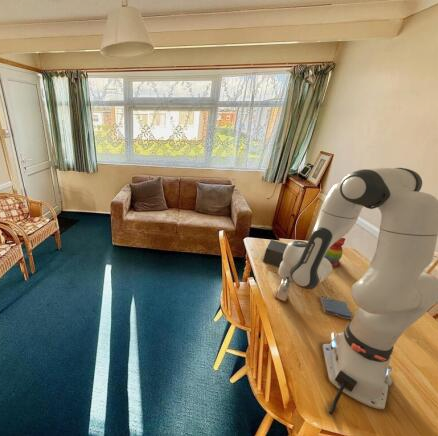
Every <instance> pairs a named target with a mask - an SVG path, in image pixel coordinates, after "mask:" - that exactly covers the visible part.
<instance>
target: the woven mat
mask: <svg viewBox="0 0 438 436" xmlns="http://www.w3.org/2000/svg"><path fill="white" fill-rule="evenodd" d="M319 300H320V304H322V311H323V312H324V313H325V314H327V315H331V316H337V317H339V318H342V319H346V320H351V321H352V319H353V315H352V314H351V310H350V309H349V305H348V303H347V302H346V301H343V300H339V299H338V300H337V299H335V298H332V297H327V296H326V297H325V296H323V295H322V296H320V297H319Z"/></svg>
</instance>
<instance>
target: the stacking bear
mask: <svg viewBox="0 0 438 436" xmlns="http://www.w3.org/2000/svg"><path fill="white" fill-rule="evenodd" d="M345 241H346V238H345V237H342V238H340V239H339V240H338V241H336V242H335V243H334V244H333V245H332V246H331V247H330V248H329V249H328V250H327V252H326V254H325V256H324V257H325V258H326V259H328V260H329V261H330V262H331V264H332V266H333V268H334V267H338V266H339V265H340V260H341V259H342V256H343V251H344V249H343V246H344V245H345Z"/></svg>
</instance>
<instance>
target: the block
mask: <svg viewBox="0 0 438 436" xmlns="http://www.w3.org/2000/svg"><path fill="white" fill-rule="evenodd" d="M279 288H280V285H279V286H278V288H277V291H276V293H275V298H274V299H276V300H278V301H281V302H284V303H286V302H287V301H288V300H287V299H288V296H289V293H290V291H289V292H288V295H287V298H286V300H281V299H279V298H277V294H278V291H279Z"/></svg>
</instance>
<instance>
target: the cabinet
mask: <svg viewBox="0 0 438 436" xmlns="http://www.w3.org/2000/svg"><path fill="white" fill-rule="evenodd" d="M288 244H289V243H285V242H281V241H277V240H275V239H270V241H269V243H268V244H267V246H266V248H265V251H264V256H263V260H262V262H263V263H266V264H268V265H271V266H274V267H277V268H279V267H280V264H281V262H282V261H283V254H284V251H285V249H286V247H287V245H288Z"/></svg>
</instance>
